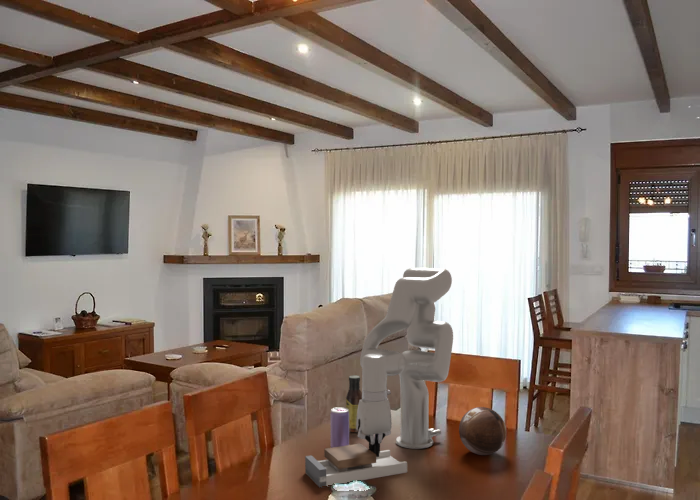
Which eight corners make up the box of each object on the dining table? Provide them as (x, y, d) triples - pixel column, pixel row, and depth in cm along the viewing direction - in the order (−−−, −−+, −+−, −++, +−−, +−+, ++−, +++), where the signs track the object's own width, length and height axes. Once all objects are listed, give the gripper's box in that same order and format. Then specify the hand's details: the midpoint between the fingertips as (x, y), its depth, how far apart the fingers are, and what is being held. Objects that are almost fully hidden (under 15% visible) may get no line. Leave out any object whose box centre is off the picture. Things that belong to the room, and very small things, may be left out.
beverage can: (347, 459, 198) (346, 412, 198) (328, 458, 199) (328, 411, 199) (350, 453, 204) (350, 407, 204) (333, 452, 205) (332, 406, 205)
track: (388, 459, 199) (388, 443, 199) (407, 472, 188) (407, 455, 188) (305, 472, 187) (305, 456, 187) (319, 487, 176) (319, 470, 176)
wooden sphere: (449, 452, 205) (449, 406, 204) (480, 443, 214) (480, 399, 214) (485, 465, 193) (485, 417, 193) (516, 455, 202) (516, 409, 202)
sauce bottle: (347, 427, 232) (347, 373, 231) (364, 428, 231) (364, 374, 230) (344, 433, 225) (344, 377, 225) (362, 433, 224) (361, 378, 224)
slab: (360, 458, 194) (360, 443, 194) (376, 470, 184) (376, 454, 184) (324, 464, 189) (324, 448, 189) (338, 477, 179) (338, 460, 179)
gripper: (390, 390, 196) (390, 448, 196) (346, 395, 190) (346, 455, 190) (402, 395, 189) (402, 456, 189) (357, 401, 183) (357, 463, 183)
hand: (374, 455), depth 190 cm, fingers closed
